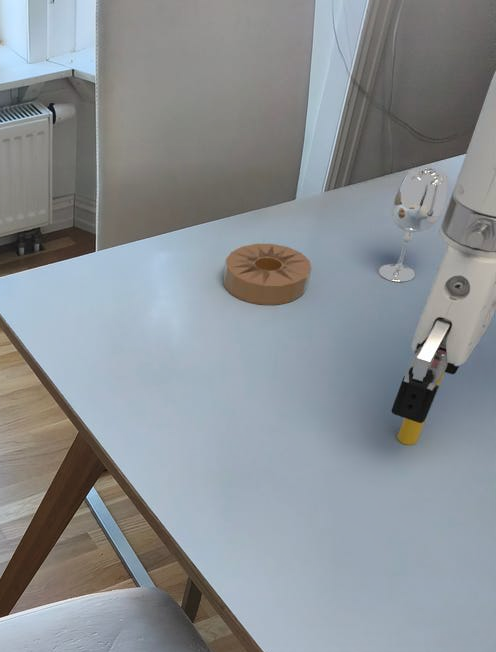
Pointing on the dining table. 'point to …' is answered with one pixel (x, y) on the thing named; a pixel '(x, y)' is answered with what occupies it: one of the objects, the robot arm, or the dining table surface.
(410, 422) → the pencil
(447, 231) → the robot arm
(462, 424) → the dining table surface
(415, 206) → the wineglass
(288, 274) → the brown sunburst ring
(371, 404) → the dining table surface
